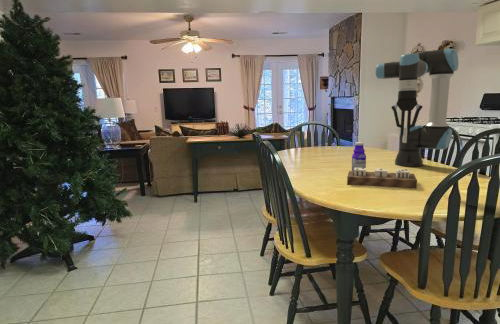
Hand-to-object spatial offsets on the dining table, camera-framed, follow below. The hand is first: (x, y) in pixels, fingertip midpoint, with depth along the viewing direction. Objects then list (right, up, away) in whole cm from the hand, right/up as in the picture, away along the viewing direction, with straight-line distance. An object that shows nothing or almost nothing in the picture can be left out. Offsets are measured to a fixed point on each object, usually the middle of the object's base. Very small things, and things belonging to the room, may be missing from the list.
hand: (404, 142), depth 152 cm
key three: (0, -19, +4) cm, 19 cm away
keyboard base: (-8, -19, +7) cm, 22 cm away
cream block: (-8, -19, +7) cm, 22 cm away
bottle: (-13, -16, +26) cm, 33 cm away
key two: (-17, -18, +10) cm, 27 cm away
